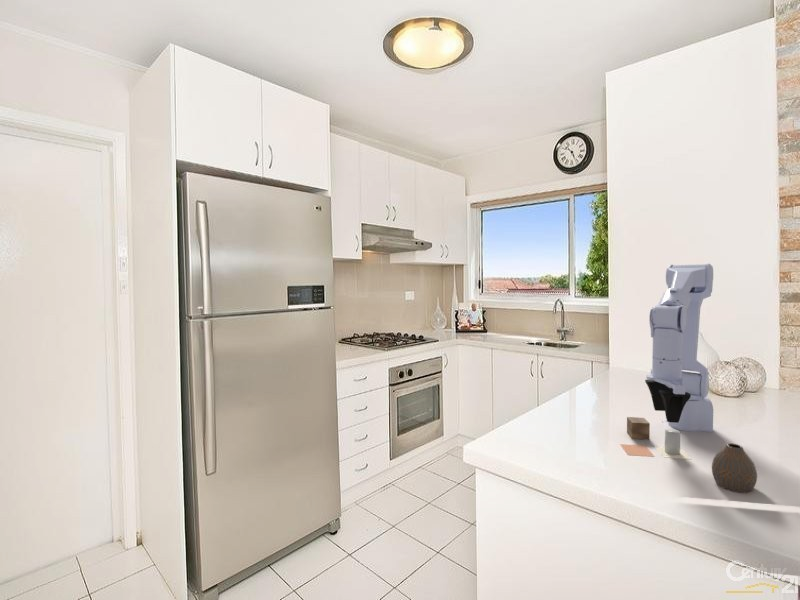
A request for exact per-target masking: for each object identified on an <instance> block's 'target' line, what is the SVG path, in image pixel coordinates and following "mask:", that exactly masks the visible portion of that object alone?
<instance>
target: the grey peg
mask: <svg viewBox="0 0 800 600" xmlns="http://www.w3.org/2000/svg"><path fill="white" fill-rule="evenodd" d="M681 436H682V435H681V430H680V431H679V429H676V428H666V429H664V447H665V452H666V453H668V454H671V455H680V448H681Z"/></svg>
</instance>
